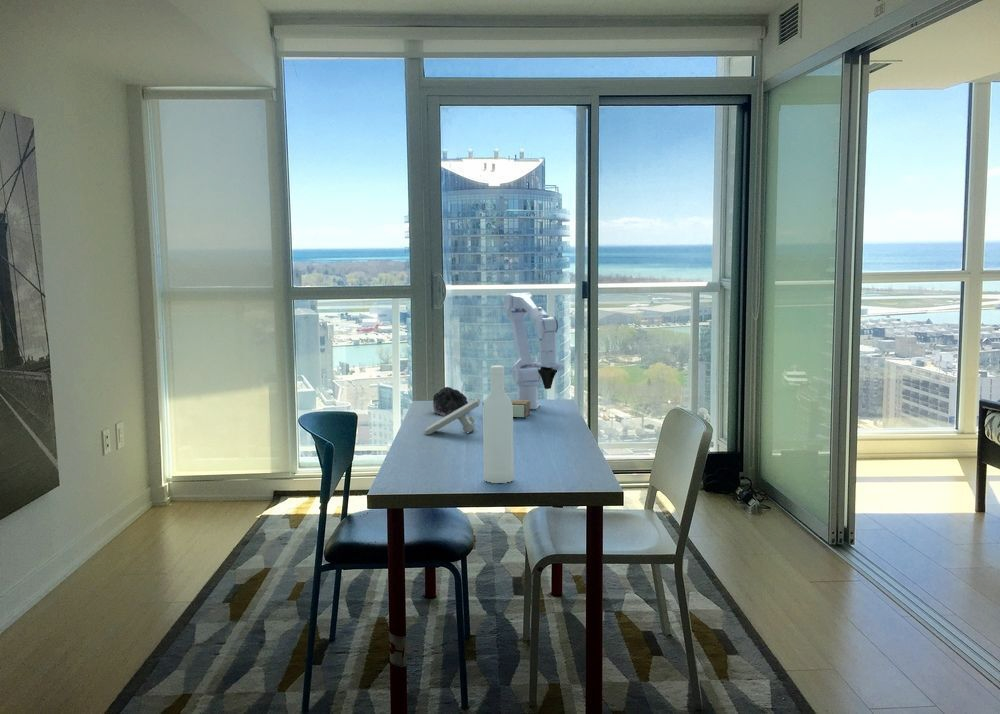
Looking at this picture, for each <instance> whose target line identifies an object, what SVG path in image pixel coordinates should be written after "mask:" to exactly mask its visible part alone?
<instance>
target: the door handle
mask: <svg viewBox="0 0 1000 714" xmlns="http://www.w3.org/2000/svg"><path fill="white" fill-rule="evenodd" d="M480 400H481V399H480V398H479V397H476V398H475V399H472V400H471V401H470V402H468V404H466V405H464V406H462V407H461V408H459V409H457V410H456V411H454V412H452V413H450V414H449V415H444V417H442V418H440V419H437V421H434V422H433V423H432V424H430V425H428V426H427V427H426V429H425V430H424V433H425V434H430V435H431V434H433V433H434V432H437V431H438V430H440V429H442V428H444V427H445V426H447V425H448V424H450V423H452V422H453V421H455V420H459V422H460V423H461V425H462V431H463V432H464V433H465V432H470V433H472V431H474V429H475V426H474V423H475V419H474V418H473V416H471V415H470V416H467V417H466V414H467V413H469V412H471V411H472V410H475V409H476V408H478V407H479V406H480V403H481V401H480Z"/></svg>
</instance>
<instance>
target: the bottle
mask: <svg viewBox="0 0 1000 714" xmlns="http://www.w3.org/2000/svg"><path fill="white" fill-rule="evenodd" d="M505 373H506V371H505V367H504V365H491V366H490V367H489V378H490V379H489V380H490V382H489V383H490V384H489V386H490V388H489V389H490V390H489V391H490V393H489V394H488V395H487V396H486V397H485V399H484V400H483V402H484V404H483V403H482V425H483V426H482V436H483V437H482V438H483V439H482V441H483V477H484V478H483V480H484V481H485V482H486V481H487V482H491V483H505V484H508V483H507V482H510V483H512V482H513V481H514V480H515V477H514V475H515V467H514V465H515V461H514V418H513V405H512V402H511V400H512V399H511V397H509V396H508V395H507V394H506V392H505ZM511 481H512V482H511ZM487 482H486V483H487ZM491 483H490V484H491Z"/></svg>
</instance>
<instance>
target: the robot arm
mask: <svg viewBox="0 0 1000 714" xmlns="http://www.w3.org/2000/svg"><path fill="white" fill-rule="evenodd" d="M503 304H504V305H503V306H504V310H505V314H506V317H507V318H509V321H510V325H511V331H512V335H513V341H514V345H515V350H516V356H517V361H516V362H515V363H514V364H513V365H512V379H513V382H514V383H515V385H517V400H530V410H538V408H539V407H540V406H541V403H538V385H539V383H540V382H541V380H542V384H543V388H544V390H549V389H551V388H552V385H553V382H554V379H555V376H556V375H557V373H558V371H560V372H561V371H565V364H560V363H558V362H556V333H557V332H558V331H559V321H558V319H557V317H556V316H550V315H549V314H548V313H547V312H546V311H545V310H544V309H543V307H542V306H537V305H536V304H535V302H534V297H533V294H532V293H531V292H529V291H527V292H507V293H506V294H505V295H504V300H503ZM528 315H529V319H530V321H532V323H533V324H534V325H535V329H536V333H537V338H538V339H539V340H538V341H539V347H538V349H539V350H538V351H539V361H537V360H535V359H534V358H532V356H531V350H530V345H529V341H528V336H527V331H526V325H525V322H524V321H525V320H524V319H525V317H527V316H528Z"/></svg>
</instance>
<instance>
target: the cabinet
mask: <svg viewBox="0 0 1000 714" xmlns="http://www.w3.org/2000/svg"><path fill="white" fill-rule="evenodd" d="M511 402H512V405H524V406H526V411H524V412H526V415H527V416H528V415H529V414H531V413H530V412H531V409H530V400H518V399H511ZM483 404H484V401H483V402H482V405H483ZM528 417H529V416H528Z"/></svg>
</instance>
